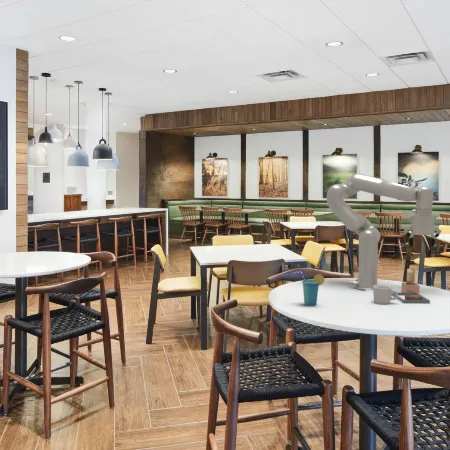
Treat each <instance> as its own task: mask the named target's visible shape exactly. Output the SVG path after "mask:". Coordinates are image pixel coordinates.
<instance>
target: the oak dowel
mask: <svg viewBox="0 0 450 450" xmlns="http://www.w3.org/2000/svg"><path fill="white" fill-rule="evenodd" d="M415 274H416V269H415V268H407V269H406V282H407V285H414V283H416V282H415V276H416V275H415Z"/></svg>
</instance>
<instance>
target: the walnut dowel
mask: <svg viewBox="0 0 450 450" xmlns="http://www.w3.org/2000/svg"><path fill="white" fill-rule="evenodd" d="M422 296H423V295H422V294H420V295H404V300H423V298H422Z"/></svg>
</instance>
